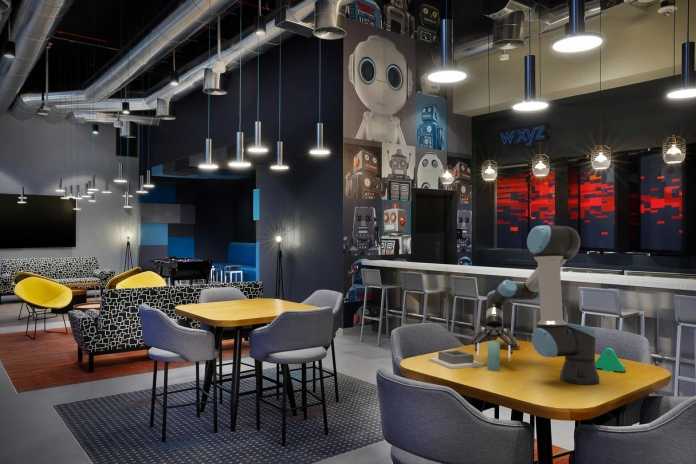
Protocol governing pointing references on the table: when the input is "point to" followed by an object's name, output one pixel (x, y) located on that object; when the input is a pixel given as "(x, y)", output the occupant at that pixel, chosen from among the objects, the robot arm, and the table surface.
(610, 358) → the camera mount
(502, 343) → the bread roll
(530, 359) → the table surface
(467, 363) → the dock
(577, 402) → the table surface
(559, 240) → the robot arm
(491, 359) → the peg
